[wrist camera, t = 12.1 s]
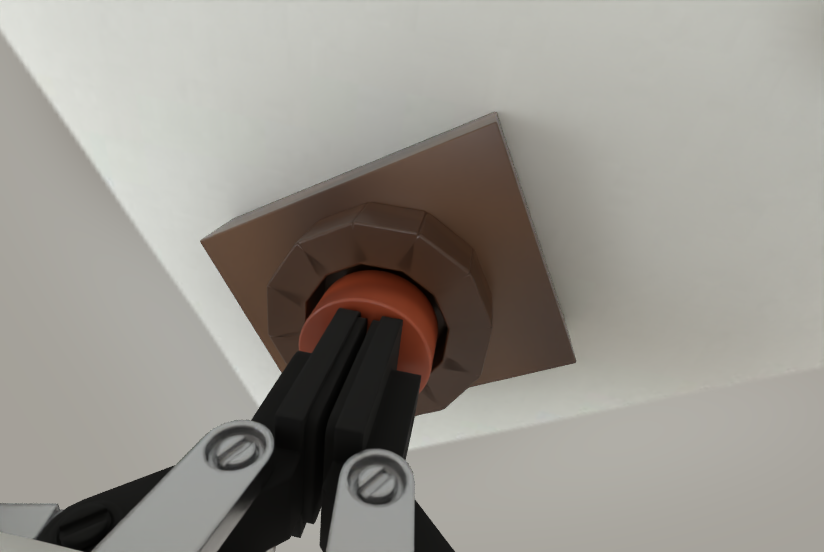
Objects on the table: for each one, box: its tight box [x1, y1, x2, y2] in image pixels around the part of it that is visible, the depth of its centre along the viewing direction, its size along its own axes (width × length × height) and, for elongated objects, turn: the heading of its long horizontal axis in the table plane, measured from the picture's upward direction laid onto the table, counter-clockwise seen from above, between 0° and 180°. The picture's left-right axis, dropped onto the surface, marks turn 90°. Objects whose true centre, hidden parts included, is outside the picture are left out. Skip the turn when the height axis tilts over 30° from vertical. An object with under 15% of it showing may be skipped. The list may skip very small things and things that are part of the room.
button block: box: [200, 112, 576, 416], centre depth 15 cm, size 10×8×4 cm
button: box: [299, 270, 438, 393], centre depth 13 cm, size 4×4×2 cm
